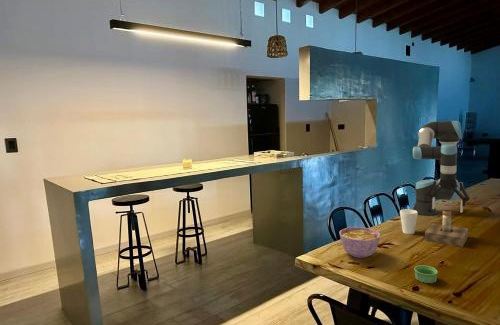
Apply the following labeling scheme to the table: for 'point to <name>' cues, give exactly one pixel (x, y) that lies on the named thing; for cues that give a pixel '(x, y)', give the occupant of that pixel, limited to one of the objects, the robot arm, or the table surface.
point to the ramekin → (425, 274)
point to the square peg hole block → (446, 235)
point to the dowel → (446, 221)
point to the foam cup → (408, 220)
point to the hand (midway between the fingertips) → (447, 210)
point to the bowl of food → (359, 241)
